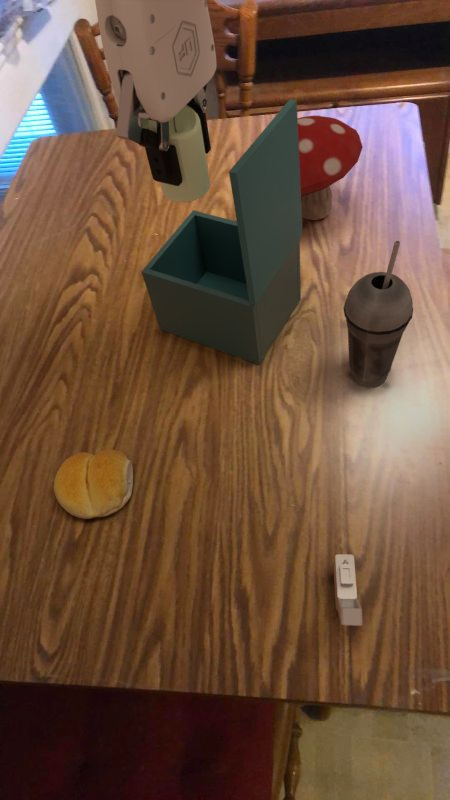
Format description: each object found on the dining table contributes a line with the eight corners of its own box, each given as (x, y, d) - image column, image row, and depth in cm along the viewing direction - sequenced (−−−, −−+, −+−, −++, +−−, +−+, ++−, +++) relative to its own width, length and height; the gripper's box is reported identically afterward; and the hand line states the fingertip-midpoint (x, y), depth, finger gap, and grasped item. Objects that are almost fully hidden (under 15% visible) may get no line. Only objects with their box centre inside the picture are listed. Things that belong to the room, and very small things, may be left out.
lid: (228, 171, 50) (236, 173, 50) (289, 98, 56) (296, 99, 56) (249, 303, 64) (255, 305, 64) (296, 234, 69) (302, 235, 69)
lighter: (333, 568, 57) (336, 540, 51) (350, 568, 57) (356, 540, 50) (337, 643, 53) (341, 623, 47) (356, 644, 53) (363, 623, 46)
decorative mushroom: (300, 263, 83) (298, 172, 70) (235, 214, 91) (224, 124, 79) (380, 213, 87) (391, 118, 74) (311, 170, 95) (311, 78, 83)
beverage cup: (327, 366, 72) (333, 240, 55) (375, 341, 73) (395, 212, 56) (361, 406, 68) (378, 284, 51) (411, 380, 69) (443, 253, 52)
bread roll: (63, 460, 68) (51, 444, 65) (136, 453, 68) (127, 436, 64) (54, 525, 64) (40, 511, 60) (132, 518, 63) (122, 503, 60)
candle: (219, 180, 59) (208, 102, 52) (192, 208, 57) (176, 130, 50) (181, 169, 61) (166, 92, 54) (153, 195, 59) (133, 119, 52)
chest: (159, 329, 79) (140, 271, 70) (205, 270, 84) (192, 209, 75) (259, 365, 73) (252, 307, 64) (300, 299, 79) (299, 237, 70)
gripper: (112, -2, 37) (169, 226, 52) (235, -97, 44) (254, 126, 59) (26, -11, 39) (104, 208, 54) (156, -98, 47) (193, 115, 62)
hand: (182, 163), depth 57 cm, fingers closed on candle, 4 cm apart
